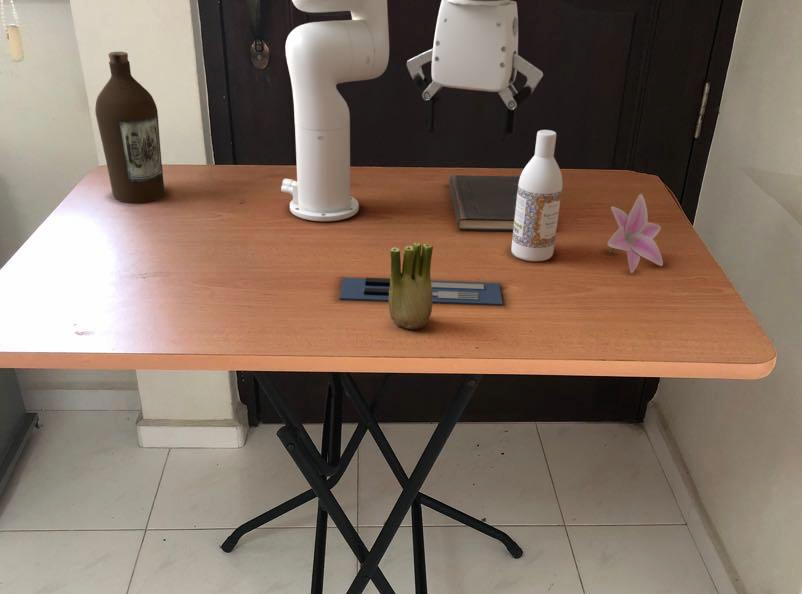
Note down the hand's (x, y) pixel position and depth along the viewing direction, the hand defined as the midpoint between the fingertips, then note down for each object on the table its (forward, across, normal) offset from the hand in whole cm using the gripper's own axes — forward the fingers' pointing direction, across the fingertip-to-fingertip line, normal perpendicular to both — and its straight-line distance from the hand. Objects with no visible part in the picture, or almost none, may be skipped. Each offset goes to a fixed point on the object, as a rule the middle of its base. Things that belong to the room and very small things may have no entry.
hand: (469, 134), depth 108 cm
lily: (+25, -22, -26) cm, 42 cm away
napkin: (+25, +6, -2) cm, 26 cm away
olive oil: (+24, +69, -20) cm, 76 cm away
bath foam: (+25, -6, -23) cm, 34 cm away
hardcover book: (+25, +5, -41) cm, 49 cm away
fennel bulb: (+25, +4, +8) cm, 27 cm away
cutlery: (+25, +6, -2) cm, 26 cm away
